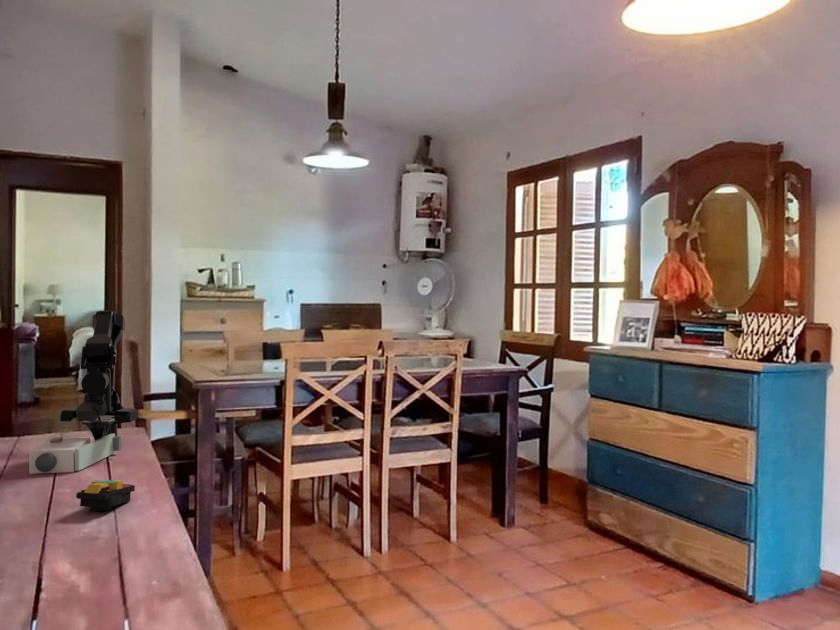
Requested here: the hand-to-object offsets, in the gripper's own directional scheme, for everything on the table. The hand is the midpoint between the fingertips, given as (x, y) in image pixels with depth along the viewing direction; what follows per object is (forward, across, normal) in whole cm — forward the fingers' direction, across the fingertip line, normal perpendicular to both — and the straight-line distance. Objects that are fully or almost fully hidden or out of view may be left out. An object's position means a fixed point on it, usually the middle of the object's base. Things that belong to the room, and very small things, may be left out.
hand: (99, 446), depth 189 cm
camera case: (+2, -5, -10) cm, 12 cm away
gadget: (+2, +22, -42) cm, 48 cm away
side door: (+2, +3, -7) cm, 8 cm away
